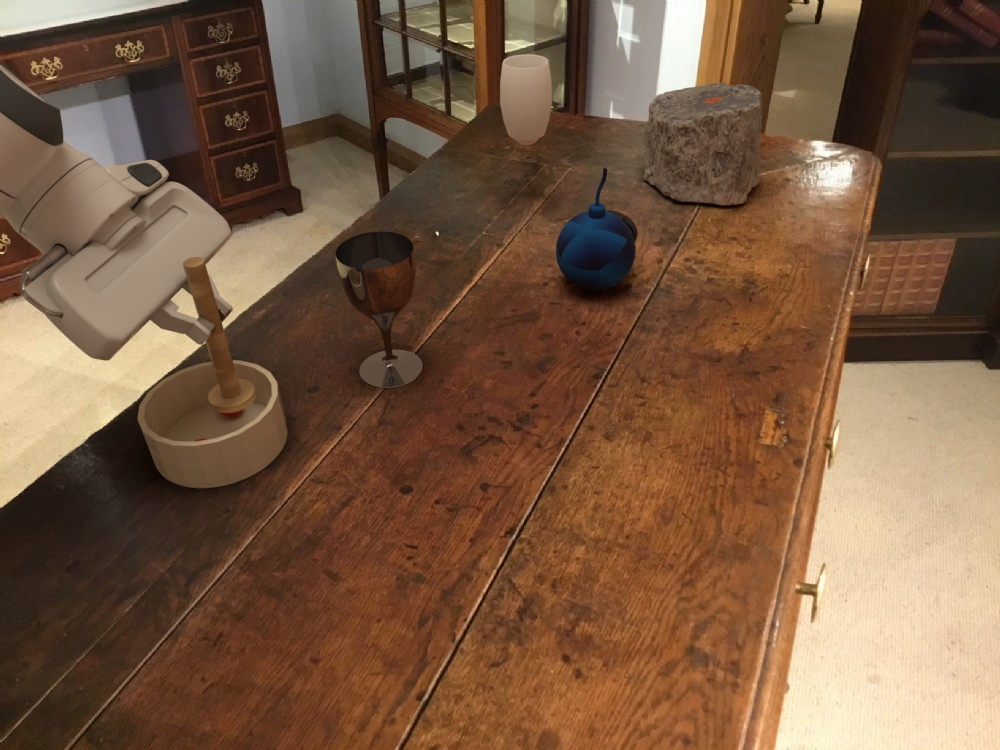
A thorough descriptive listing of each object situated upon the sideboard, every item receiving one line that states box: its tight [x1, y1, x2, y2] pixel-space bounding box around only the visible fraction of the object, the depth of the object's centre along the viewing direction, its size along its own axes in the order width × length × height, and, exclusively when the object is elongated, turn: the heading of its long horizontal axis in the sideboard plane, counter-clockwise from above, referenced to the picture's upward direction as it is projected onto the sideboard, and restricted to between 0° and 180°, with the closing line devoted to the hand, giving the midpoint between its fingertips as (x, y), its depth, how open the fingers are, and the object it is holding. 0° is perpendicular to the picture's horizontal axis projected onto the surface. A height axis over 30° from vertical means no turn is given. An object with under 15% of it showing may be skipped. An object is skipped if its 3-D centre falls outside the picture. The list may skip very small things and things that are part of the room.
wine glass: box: [335, 231, 424, 389], centre depth 91 cm, size 8×8×15 cm
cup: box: [499, 53, 553, 146], centre depth 121 cm, size 7×7×21 cm
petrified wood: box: [643, 82, 763, 206], centre depth 126 cm, size 19×17×15 cm
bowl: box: [137, 359, 289, 489], centre depth 85 cm, size 13×13×6 cm
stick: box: [183, 257, 256, 413], centre depth 78 cm, size 4×4×15 cm
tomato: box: [219, 410, 242, 417], centre depth 88 cm, size 3×3×3 cm
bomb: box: [555, 167, 639, 292], centre depth 104 cm, size 10×11×15 cm
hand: (218, 327), depth 77 cm, fingers closed on stick, 2 cm apart
